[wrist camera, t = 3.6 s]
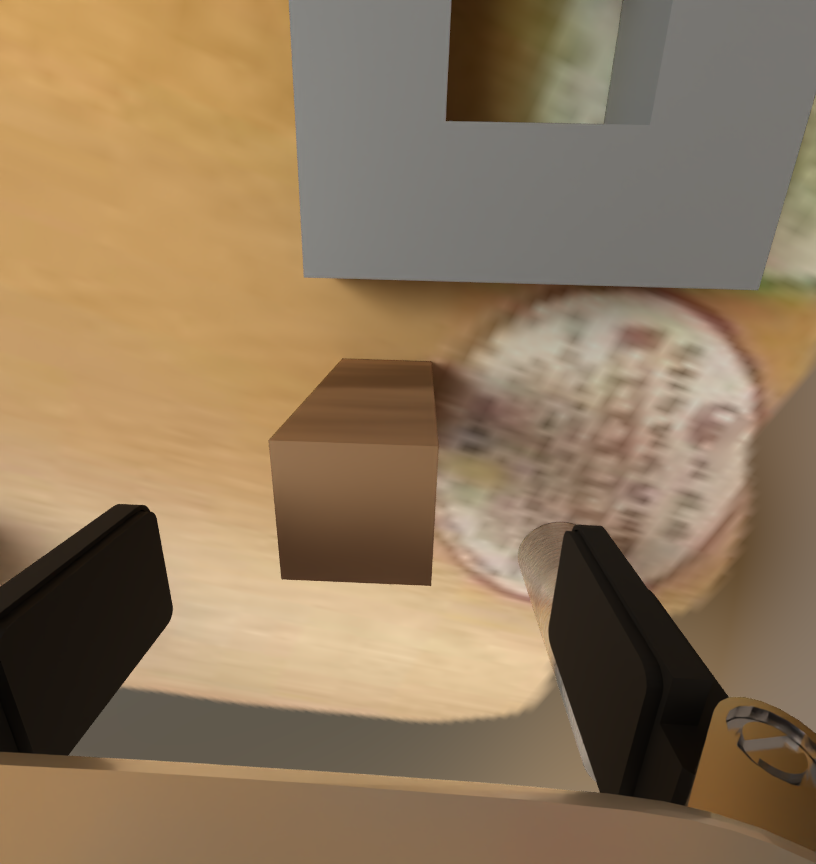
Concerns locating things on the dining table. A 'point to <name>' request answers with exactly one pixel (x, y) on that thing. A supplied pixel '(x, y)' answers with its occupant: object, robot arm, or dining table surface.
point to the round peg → (548, 598)
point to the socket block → (551, 151)
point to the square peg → (359, 476)
